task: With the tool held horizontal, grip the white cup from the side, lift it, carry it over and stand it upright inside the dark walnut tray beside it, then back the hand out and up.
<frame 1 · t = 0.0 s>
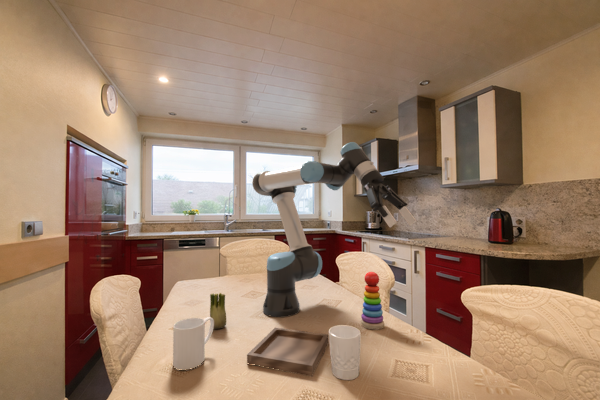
hand: (403, 224, 87), 36 cm above the table, tool tilted 35°, fingers open, 13 cm apart
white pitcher: (195, 359, 74), on the table
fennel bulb: (218, 328, 95), on the table
tray: (290, 352, 77), on the table
stacking toy: (372, 326, 95), on the table
white cup: (345, 373, 67), on the table
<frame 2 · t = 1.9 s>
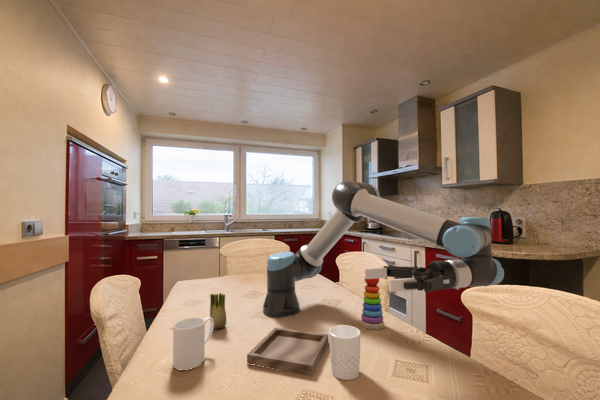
hand: (376, 279, 70), 22 cm above the table, tool horizontal, fingers open, 13 cm apart
nothing on the table moved.
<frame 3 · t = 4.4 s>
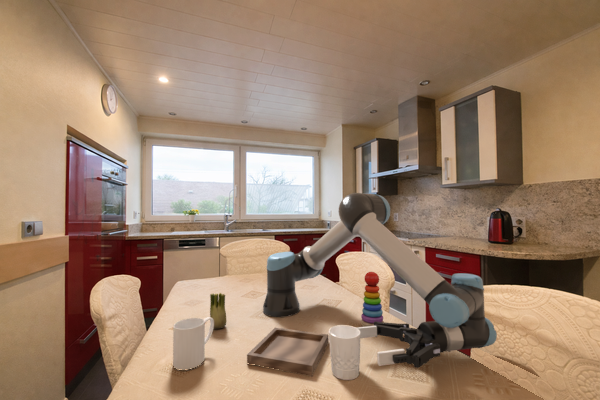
hand: (365, 344, 68), 6 cm above the table, tool horizontal, fingers open, 13 cm apart
nothing on the table moved.
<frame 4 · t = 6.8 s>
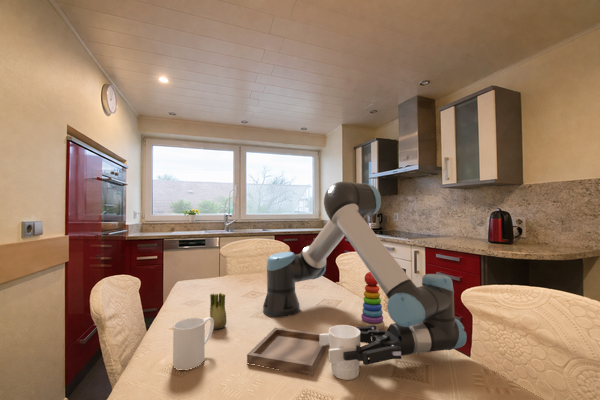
hand: (324, 347, 66), 7 cm above the table, tool horizontal, fingers closed on white cup, 7 cm apart
white cup: (345, 372, 67), on the table, touching gripper
everything else where it was.
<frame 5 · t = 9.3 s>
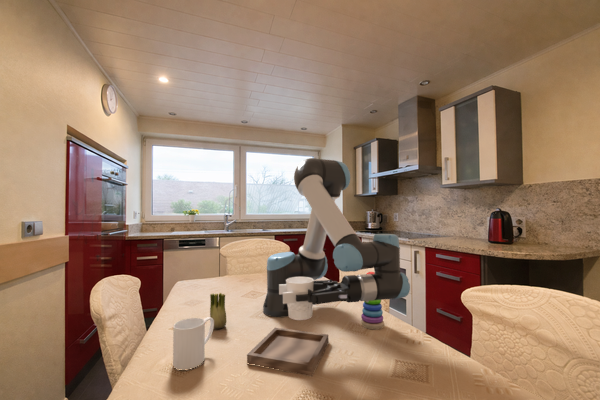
hand: (281, 293, 75), 18 cm above the table, tool horizontal, fingers closed on white cup, 7 cm apart
white cup: (300, 316, 75), point 11 cm above the table, touching gripper
everything else where it was.
when the fingers open (9 cm above the table, at t = 12.1 s): white cup drops 1 cm, resting on tray.
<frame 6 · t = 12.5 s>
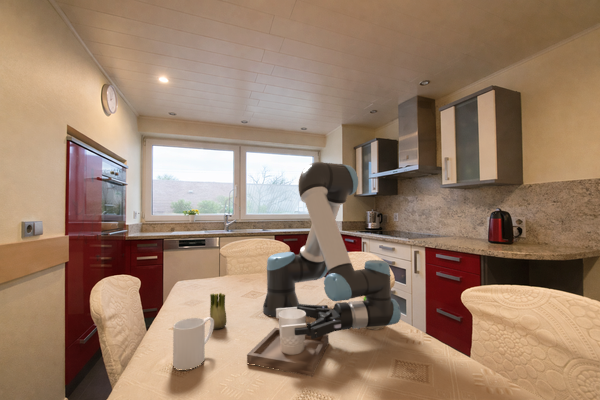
hand: (278, 321, 77), 9 cm above the table, tool horizontal, fingers open, 13 cm apart
white cup: (292, 349, 77), point 1 cm above the table, touching tray
everything else where it was.
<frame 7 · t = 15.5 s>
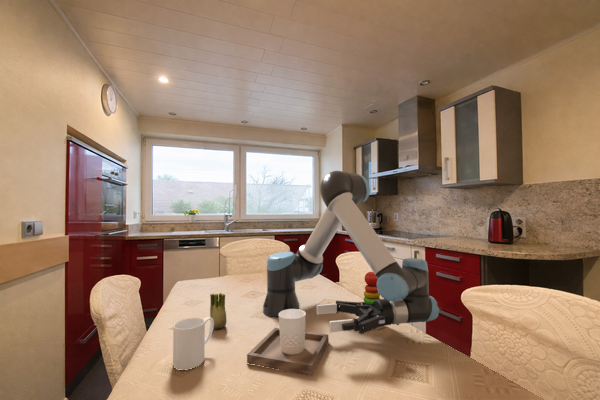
hand: (322, 317, 79), 9 cm above the table, tool horizontal, fingers open, 13 cm apart
nothing on the table moved.
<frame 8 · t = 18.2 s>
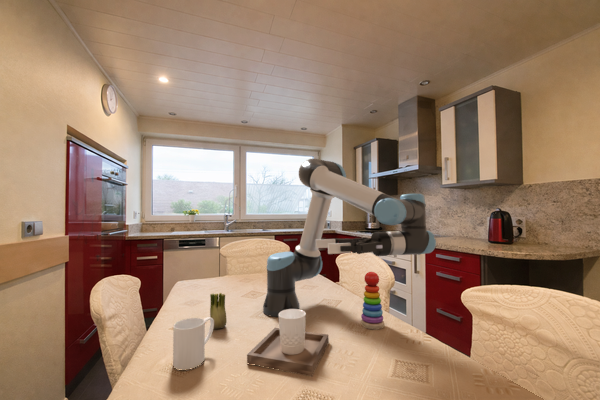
hand: (321, 246, 80), 30 cm above the table, tool horizontal, fingers open, 13 cm apart
nothing on the table moved.
at the end: white cup inside the target area on the tray (0.5 cm from its centre), point 0.8 cm above the tray's base; white cup tilted 0°; the gripper is holding nothing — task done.
